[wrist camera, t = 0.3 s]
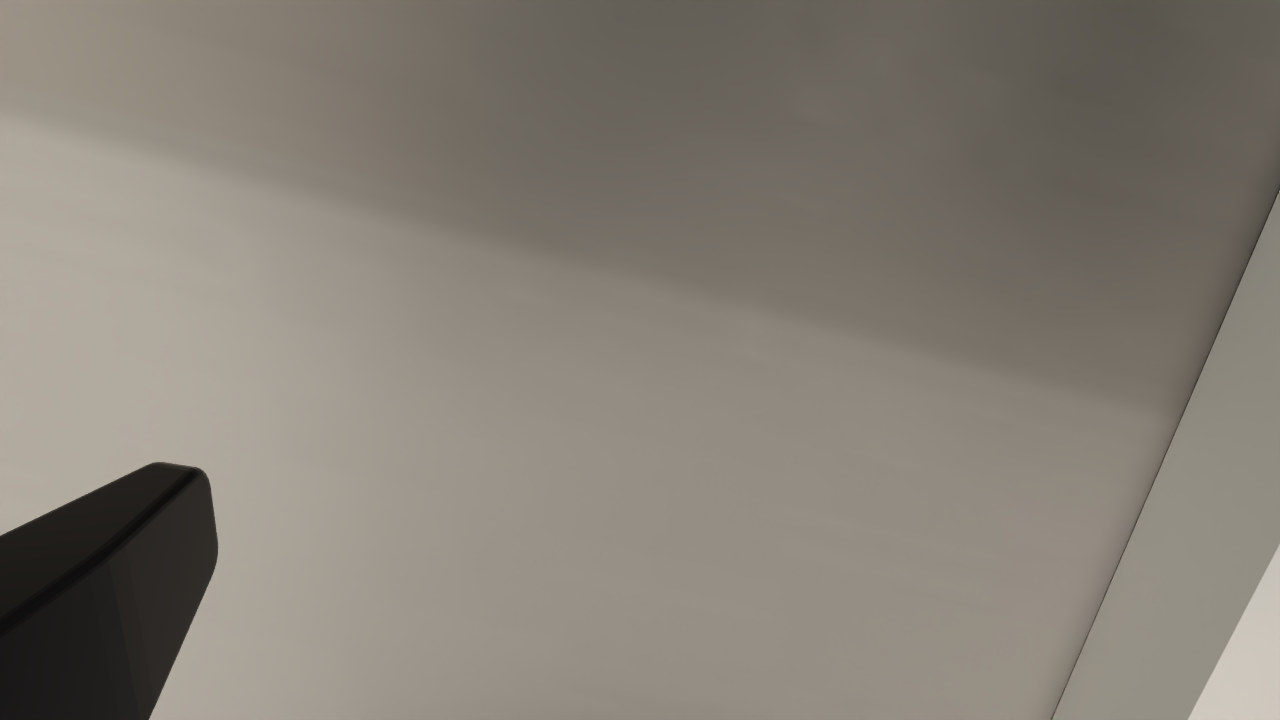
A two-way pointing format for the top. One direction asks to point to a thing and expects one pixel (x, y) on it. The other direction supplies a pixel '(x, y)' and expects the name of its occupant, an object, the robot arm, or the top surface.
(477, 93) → the top surface
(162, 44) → the top surface
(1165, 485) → the power strip
